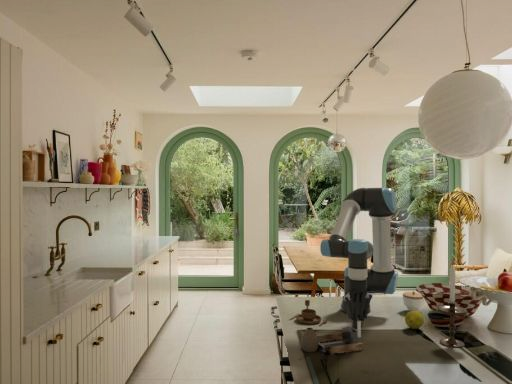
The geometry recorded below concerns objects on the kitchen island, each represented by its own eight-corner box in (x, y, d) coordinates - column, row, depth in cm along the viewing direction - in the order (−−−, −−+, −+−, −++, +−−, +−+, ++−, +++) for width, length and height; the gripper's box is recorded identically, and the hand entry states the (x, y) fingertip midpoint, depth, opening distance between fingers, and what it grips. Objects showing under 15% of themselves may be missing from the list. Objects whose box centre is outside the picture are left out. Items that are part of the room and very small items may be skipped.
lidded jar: (426, 308, 223) (426, 290, 223) (422, 313, 214) (422, 294, 214) (405, 305, 228) (405, 287, 228) (400, 310, 219) (400, 292, 219)
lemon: (411, 323, 197) (411, 306, 197) (427, 327, 191) (427, 310, 191) (400, 329, 189) (400, 311, 189) (417, 333, 184) (417, 315, 184)
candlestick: (441, 337, 179) (442, 255, 178) (469, 344, 172) (470, 257, 171) (433, 345, 170) (434, 258, 170) (462, 351, 163) (463, 261, 163)
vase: (307, 355, 159) (308, 332, 159) (297, 349, 165) (297, 327, 165) (322, 352, 162) (322, 329, 162) (311, 346, 168) (311, 324, 168)
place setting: (286, 321, 203) (286, 308, 202) (305, 310, 219) (305, 299, 219) (319, 327, 193) (319, 314, 193) (336, 316, 210) (336, 304, 209)
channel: (343, 338, 177) (343, 331, 177) (363, 351, 163) (363, 343, 163) (313, 342, 172) (313, 335, 172) (331, 356, 159) (331, 348, 159)
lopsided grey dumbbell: (346, 340, 175) (346, 325, 174) (359, 348, 166) (359, 332, 166) (311, 344, 169) (311, 329, 169) (322, 353, 160) (322, 337, 160)
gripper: (365, 275, 176) (365, 331, 177) (338, 277, 172) (338, 335, 172) (376, 278, 169) (376, 337, 170) (348, 281, 165) (348, 341, 165)
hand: (357, 336), depth 171 cm, fingers closed
